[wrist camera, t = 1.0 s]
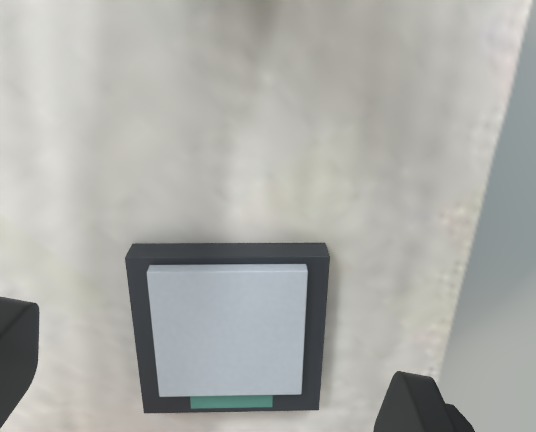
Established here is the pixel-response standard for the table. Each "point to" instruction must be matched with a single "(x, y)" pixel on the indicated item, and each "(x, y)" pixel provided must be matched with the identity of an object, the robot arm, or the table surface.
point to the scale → (229, 325)
